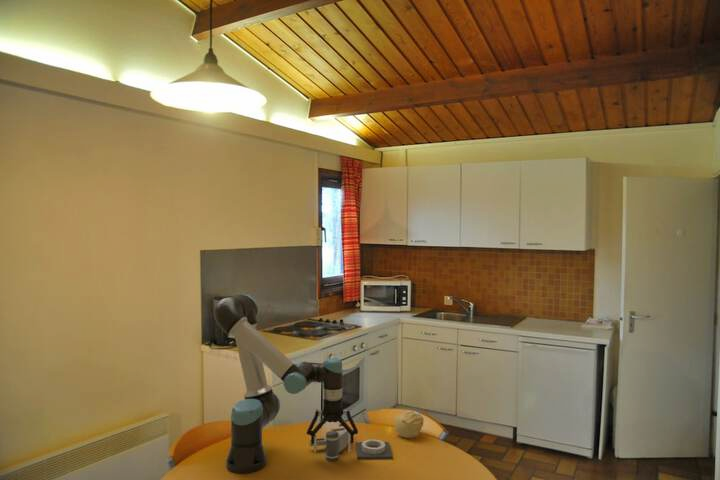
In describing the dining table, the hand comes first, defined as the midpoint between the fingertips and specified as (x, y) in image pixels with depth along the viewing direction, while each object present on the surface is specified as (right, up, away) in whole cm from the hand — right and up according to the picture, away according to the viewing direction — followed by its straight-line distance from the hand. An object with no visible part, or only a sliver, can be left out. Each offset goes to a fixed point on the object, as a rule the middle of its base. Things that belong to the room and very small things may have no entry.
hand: (332, 451), depth 197 cm
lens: (0, -3, 0) cm, 3 cm away
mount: (+17, -3, +7) cm, 18 cm away
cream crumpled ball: (+33, -3, +24) cm, 41 cm away
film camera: (-2, -3, +14) cm, 14 cm away
